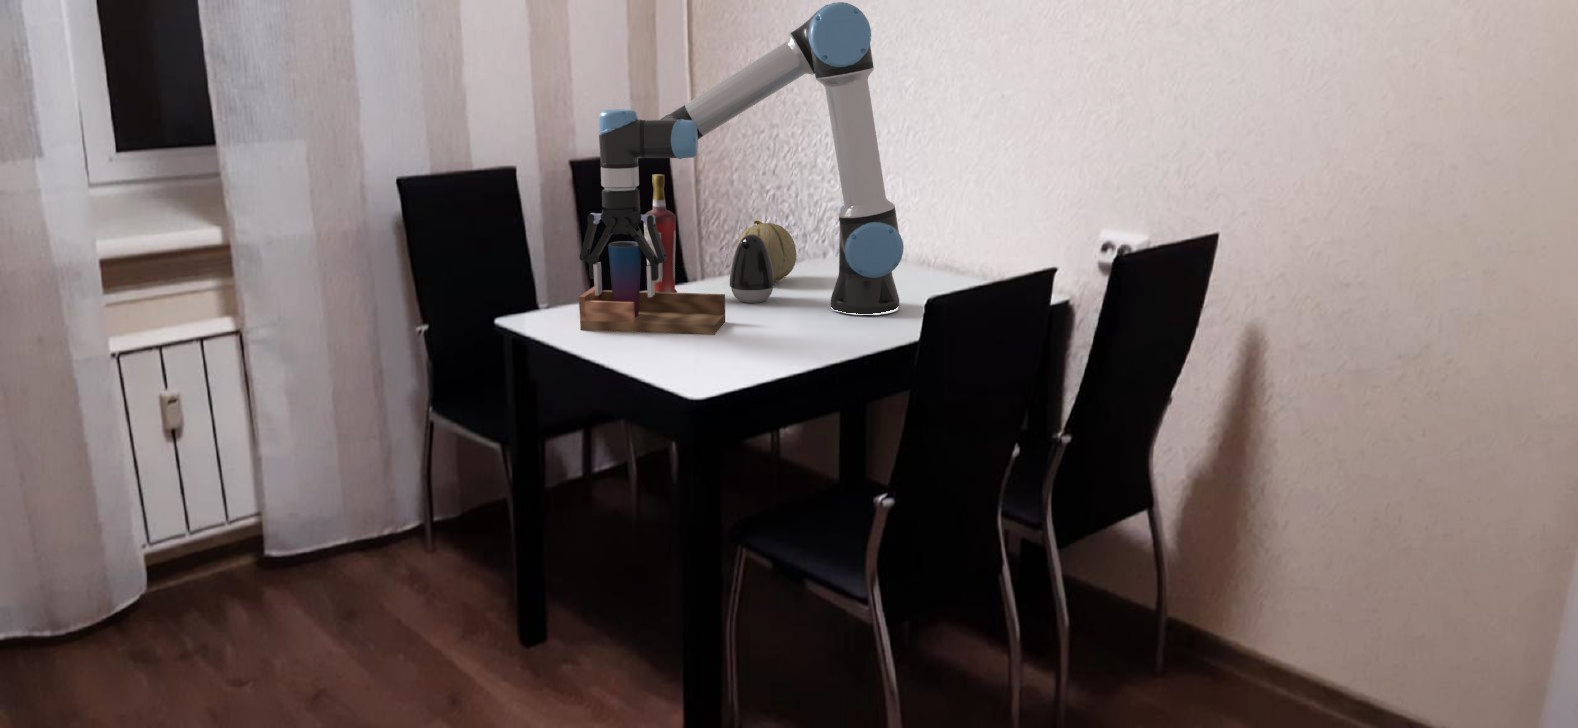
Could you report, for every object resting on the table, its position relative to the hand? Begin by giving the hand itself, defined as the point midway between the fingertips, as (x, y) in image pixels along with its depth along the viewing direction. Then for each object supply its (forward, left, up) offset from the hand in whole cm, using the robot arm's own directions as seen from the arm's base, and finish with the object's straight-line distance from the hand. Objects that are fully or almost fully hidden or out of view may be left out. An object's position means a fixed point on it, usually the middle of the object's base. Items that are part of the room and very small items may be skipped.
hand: (624, 295), depth 239 cm
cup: (0, 0, -4) cm, 4 cm away
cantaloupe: (-22, -46, -7) cm, 51 cm away
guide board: (-6, 0, -6) cm, 9 cm away
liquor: (-1, -26, -7) cm, 27 cm away
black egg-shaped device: (-22, -26, -7) cm, 35 cm away
